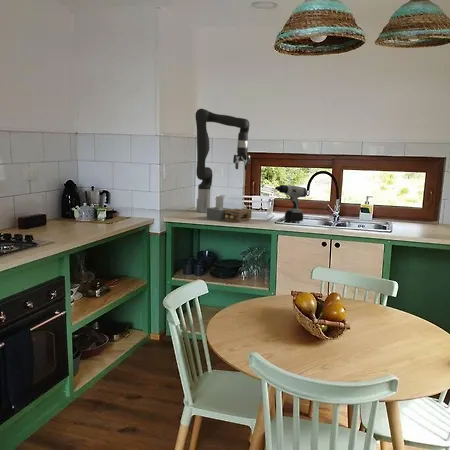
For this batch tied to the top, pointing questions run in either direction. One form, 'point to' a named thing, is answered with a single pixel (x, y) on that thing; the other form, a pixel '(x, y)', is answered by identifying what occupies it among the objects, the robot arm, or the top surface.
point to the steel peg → (219, 202)
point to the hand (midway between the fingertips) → (241, 169)
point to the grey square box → (216, 213)
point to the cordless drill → (294, 194)
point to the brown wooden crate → (241, 215)
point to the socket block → (237, 215)
